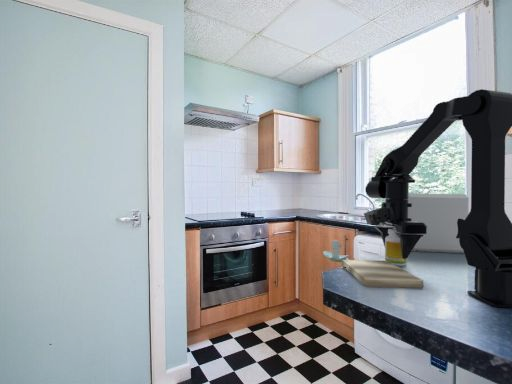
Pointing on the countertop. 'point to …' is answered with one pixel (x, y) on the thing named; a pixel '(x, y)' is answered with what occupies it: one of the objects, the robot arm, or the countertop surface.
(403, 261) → the supplement bottle
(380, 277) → the birch board
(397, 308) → the countertop surface
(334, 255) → the pacifier
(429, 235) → the bevelled white case
